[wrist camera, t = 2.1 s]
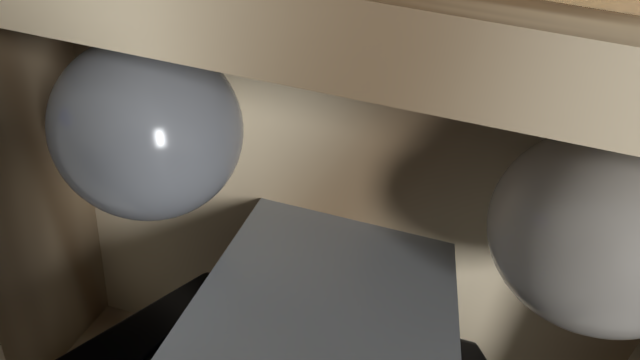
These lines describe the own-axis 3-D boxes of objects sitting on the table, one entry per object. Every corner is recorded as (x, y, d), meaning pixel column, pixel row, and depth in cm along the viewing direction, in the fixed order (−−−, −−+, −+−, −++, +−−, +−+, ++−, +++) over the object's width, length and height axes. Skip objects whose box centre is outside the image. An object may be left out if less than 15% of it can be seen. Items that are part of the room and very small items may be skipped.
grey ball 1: (273, 36, 8) (193, 83, 5) (261, 185, 9) (194, 280, 7) (115, 7, 8) (-33, 38, 6) (128, 154, 10) (15, 232, 7)
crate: (893, 57, 6) (1291, 158, 3) (593, 453, 11) (650, 639, 8) (27, -84, 8) (-206, -98, 5) (91, 310, 13) (-11, 419, 10)
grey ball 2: (712, 118, 7) (879, 226, 4) (622, 269, 8) (705, 417, 6) (511, 81, 7) (551, 158, 5) (458, 231, 9) (467, 354, 6)
